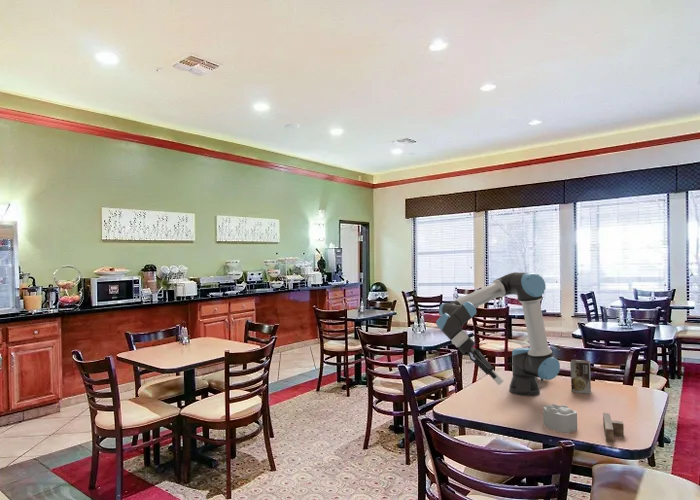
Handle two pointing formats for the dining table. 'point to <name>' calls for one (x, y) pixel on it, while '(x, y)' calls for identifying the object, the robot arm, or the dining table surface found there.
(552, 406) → the lumpy-topped squat cylinder
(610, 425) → the t stop
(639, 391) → the dining table surface
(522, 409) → the dining table surface
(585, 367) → the coffee box
